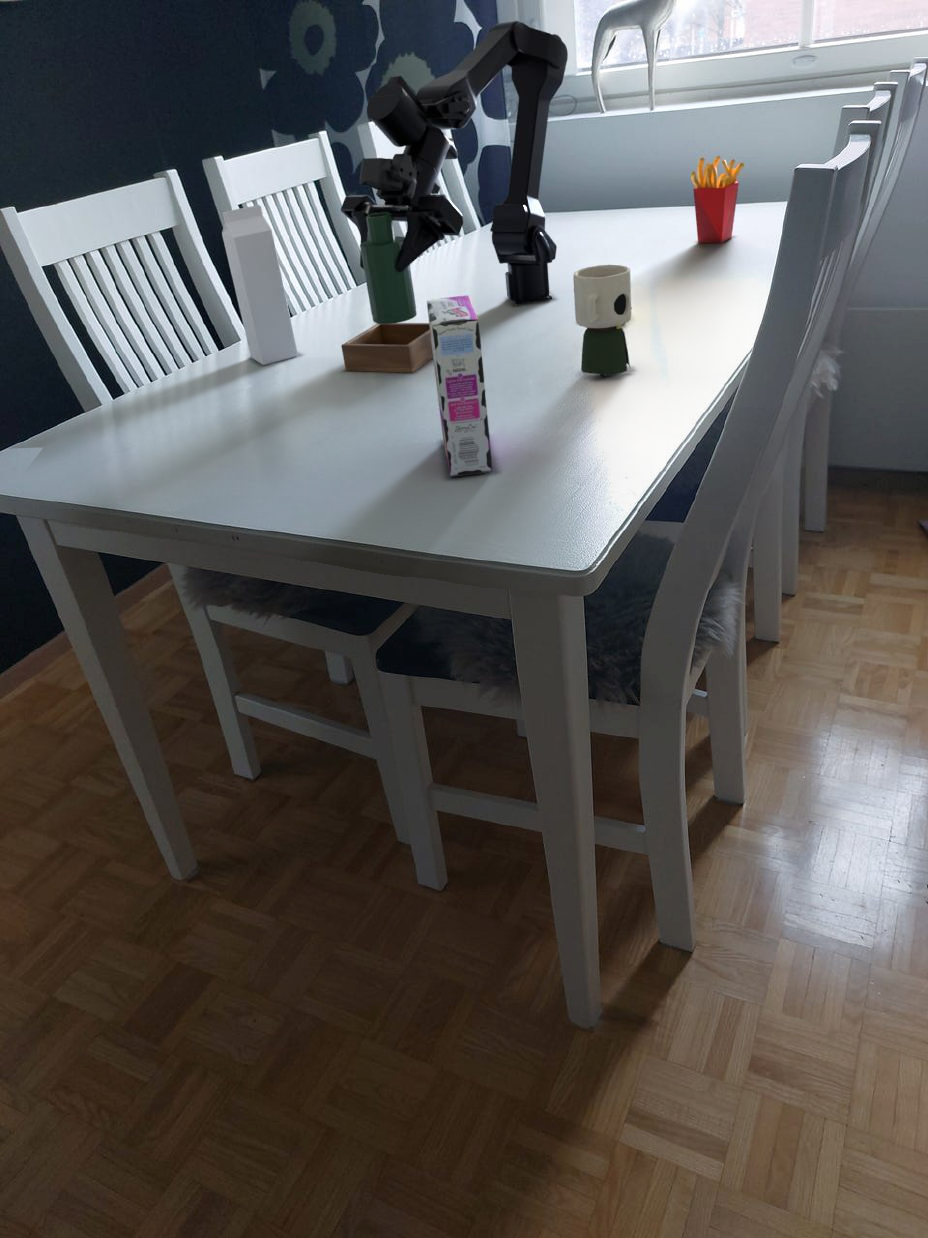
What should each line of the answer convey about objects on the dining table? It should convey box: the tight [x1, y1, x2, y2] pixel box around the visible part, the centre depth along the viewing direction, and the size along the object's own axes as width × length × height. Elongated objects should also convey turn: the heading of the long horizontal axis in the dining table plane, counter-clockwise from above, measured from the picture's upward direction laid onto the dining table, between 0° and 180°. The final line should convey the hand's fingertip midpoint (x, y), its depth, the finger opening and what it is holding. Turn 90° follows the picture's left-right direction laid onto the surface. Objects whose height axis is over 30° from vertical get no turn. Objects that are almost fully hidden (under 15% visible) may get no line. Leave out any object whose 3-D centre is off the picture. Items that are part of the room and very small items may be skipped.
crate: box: [340, 322, 433, 374], centre depth 140 cm, size 11×11×4 cm
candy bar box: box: [426, 295, 494, 478], centre depth 102 cm, size 11×5×16 cm, turn 5°
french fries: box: [690, 155, 745, 244], centre depth 179 cm, size 9×8×15 cm
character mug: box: [572, 264, 633, 378], centre depth 121 cm, size 11×7×13 cm, turn 156°
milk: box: [221, 204, 299, 366], centre depth 144 cm, size 6×6×22 cm
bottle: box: [359, 212, 417, 324], centre depth 134 cm, size 6×6×14 cm
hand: (380, 269), depth 133 cm, fingers closed on bottle, 6 cm apart
